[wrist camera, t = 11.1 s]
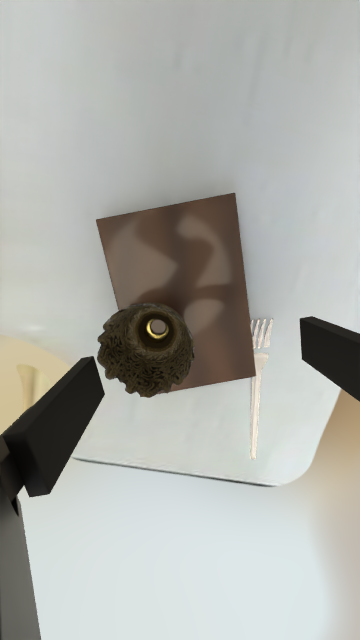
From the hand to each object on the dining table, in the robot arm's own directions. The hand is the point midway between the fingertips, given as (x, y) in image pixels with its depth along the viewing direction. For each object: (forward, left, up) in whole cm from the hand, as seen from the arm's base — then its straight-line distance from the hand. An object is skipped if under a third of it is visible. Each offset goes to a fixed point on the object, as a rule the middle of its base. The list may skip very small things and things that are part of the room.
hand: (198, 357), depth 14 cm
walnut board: (0, -2, -12) cm, 12 cm away
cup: (+3, 0, -11) cm, 11 cm away
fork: (-7, +11, -13) cm, 19 cm away
